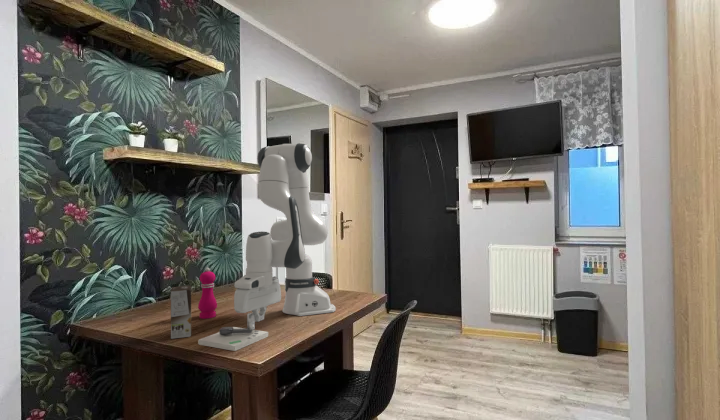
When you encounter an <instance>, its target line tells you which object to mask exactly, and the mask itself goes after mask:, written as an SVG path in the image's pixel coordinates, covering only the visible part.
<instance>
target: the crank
mask: <svg viewBox="0 0 720 420" xmlns="http://www.w3.org/2000/svg"><path fill="white" fill-rule="evenodd" d="M246 316H247V318H246V323H247V324H246V326H247V327H246V328H245V327H244V328H245V329H233V327H234V326H224V327H219V331H218V332H219V334H220V335H229V334H233V333H252V330H256V321H255V313H252V312H250V313H249V312H247V314H246Z"/></svg>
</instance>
